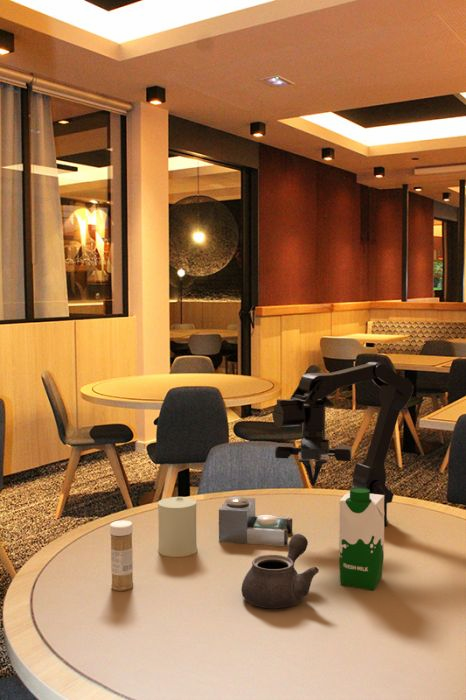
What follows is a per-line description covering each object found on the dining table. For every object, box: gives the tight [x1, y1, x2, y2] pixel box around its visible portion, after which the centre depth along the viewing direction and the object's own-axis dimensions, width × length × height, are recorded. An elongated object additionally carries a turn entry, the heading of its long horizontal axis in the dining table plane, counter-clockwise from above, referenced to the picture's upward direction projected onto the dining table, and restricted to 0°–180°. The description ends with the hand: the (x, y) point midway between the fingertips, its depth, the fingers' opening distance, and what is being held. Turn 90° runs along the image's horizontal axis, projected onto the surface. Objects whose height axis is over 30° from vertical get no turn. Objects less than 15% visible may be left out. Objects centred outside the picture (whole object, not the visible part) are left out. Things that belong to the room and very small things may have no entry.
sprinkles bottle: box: [109, 520, 134, 592], centre depth 146 cm, size 5×5×13 cm
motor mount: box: [218, 496, 293, 547], centre depth 176 cm, size 17×11×9 cm, turn 78°
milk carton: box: [338, 487, 385, 591], centre depth 148 cm, size 9×9×20 cm
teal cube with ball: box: [253, 514, 281, 530], centre depth 176 cm, size 6×6×5 cm
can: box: [157, 496, 198, 558], centre depth 167 cm, size 9×9×12 cm
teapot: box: [240, 533, 320, 609], centre depth 142 cm, size 19×15×10 cm
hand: (313, 485), depth 179 cm, fingers closed
